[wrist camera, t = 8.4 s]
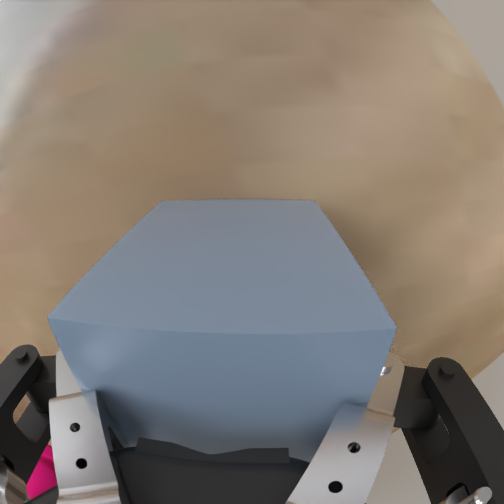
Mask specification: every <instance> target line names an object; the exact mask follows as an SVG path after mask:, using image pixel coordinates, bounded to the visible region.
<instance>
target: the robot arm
mask: <svg viewBox="0 0 504 504" xmlns="http://www.w3.org/2000/svg"><path fill="white" fill-rule="evenodd" d="M25 394H26V395H27V397H28V398H29V400H30V401H31V402H30V404H29V405H28V407H27V408H26V410H25V411H24V413H23V414H22V416H21V417H20V419H19V420H18V422H17V424H15V423H14V421H13V412H14V410H15V408H16V407H17V405H18V404H19V402H20V401H21V399H22V398H23V396H24V395H25ZM441 419H442V420H441ZM445 426H446V427H445ZM393 427H399V428H401V429H402V431H403V433H404V436H405V438H406V441H407V443H408V445H409V448H410V450H411V453H412V455H413V458H414V460H415V463H416V465H417V468H418V470H419V473H420V475H421V478H422V480H423V483H424V485H425V488H426V491H427V493H428V496H429V499H430V502H431V504H504V430H503V428H502V427H501V425H500V424H499V422H498V420H497V419H496V417H495V415H494V414H493V412H492V411H491V409H490V407H489V406H488V404H487V403H486V401H485V400H484V398H483V397H482V395H481V394H480V392H479V391H478V389H477V388H476V386H475V385H474V384H473V382H472V380H471V379H470V378H469V376H468V375H467V373H466V372H465V370H464V369H463V368H462V366H461V365H460V364H459V363H457V362H456V361H454V360H452V359H450V358H445V357H440V358H436V359H434V360H432V361H431V362H430V363H429V365H428V368H427V369H424V368H415V367H408V366H404V363H403V361H402V360H401V358H400V357H399V356H397V355H396V354H394V353H392V352H390V351H389V353H388V356H387V359H386V361H385V364H384V367H383V369H382V372H381V374H380V377H379V379H378V382H377V384H376V387H375V389H374V391H373V394H372V396H371V398H370V401H369V402H364V403H354V404H350V403H347V402H342V404H341V405H340V407H339V409H338V412H337V414H336V416H335V418H334V420H333V422H332V424H331V426H330V428H329V430H328V431H327V433H326V435H325V437H324V439H323V441H322V443H321V445H320V447H319V448H318V450H317V452H316V454H315V456H314V457H313V459H312V461H311V463H310V462H307V461H304V460H301V459H297V458H292V457H289V448H248V449H243V450H237V451H231V452H225V453H219V454H206V453H203V452H199V451H196V450H193V449H190V448H187V447H184V446H181V445H179V444H176V443H173V442H166V441H159V440H153V439H147V438H141V437H139V438H138V442H137V445H136V446H134V447H130V445H129V443H128V442H127V440H126V438H125V437H124V435H123V433H121V432H120V430H119V428H118V427H117V425H116V423H115V422H114V420H113V418H112V416H111V415H110V413H109V410H108V408H107V406H106V404H105V402H104V400H103V398H102V396H101V394H100V392H99V390H97V389H92V390H85V389H81V388H80V387H79V385H78V383H77V382H76V380H75V378H74V376H73V374H72V372H71V370H70V368H69V366H68V364H67V362H66V360H65V358H64V356H63V354H62V351H61V349H60V350H59V351H58V353H57V355H55V356H41V357H40V355H39V353H38V351H37V349H36V347H34V346H32V345H22V346H19V347H17V348H15V349H14V350H13V351H12V352H11V353H10V354H9V355H8V356H7V357H6V359H5V360H4V361H3V362H2V363H1V364H0V504H366V500H367V498H368V496H369V493H370V491H371V489H372V486H373V484H374V481H375V478H376V476H377V473H378V471H379V468H380V465H381V463H382V460H383V457H384V454H385V451H386V448H387V445H388V442H389V438H390V436H391V433H392V429H393ZM446 428H447V429H446ZM447 430H448V431H447ZM448 432H449V433H448ZM50 439H51V442H52V451H53V459H54V466H55V472H56V478H57V485H55V486H54V487H52V488H50V489H49V490H47V491H45V492H43V493H42V494H40V495H38V496H36V497H34V498H33V499H30V497H29V495H28V494H27V488H26V485H27V483H28V481H29V479H30V477H31V475H32V473H33V471H34V469H35V467H36V465H37V463H38V461H39V459H40V457H41V455H42V454H43V452H44V450H45V448H46V446H47V444H48V442H49V441H50Z"/></svg>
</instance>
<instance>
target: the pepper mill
mask: <svg viewBox="0 0 504 504" xmlns="http://www.w3.org/2000/svg"><path fill="white" fill-rule="evenodd" d="M55 485H57V478H56V472H55V466H54V459H53V451H52V447H51V446H49V445H47V446H46V448H45V450H44V452H43V454H42V455H41V457H40V459H39V461H38V463H37V465H36V467H35V469H34V471H33V473H32V475H31V477H30V479H29V481H28V483H27V485H26V488H27V494H28V495H29V497H30V499H33V498H34V497H36V496H38V495H40V494H42V493H43V492H45V491H47V490H49V489H50V488H52V487H54V486H55Z"/></svg>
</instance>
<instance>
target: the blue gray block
mask: <svg viewBox="0 0 504 504" xmlns="http://www.w3.org/2000/svg"><path fill="white" fill-rule="evenodd" d="M47 319H48V321H49V324H50V326H51V329H52V331H53V334H54V336H55V338H56V340H57V343H58V345H59V347H60V349H61V351H62V354H63V356H64V358H65V360H66V362H67V364H68V366H69V368H70V370H71V372H72V374H73V376H74V378H75V380H76V382H77V383H78V385H79V387H80V388H81V389H85V390H92V389H97V390H99V392H100V394H101V396H102V398H103V400H104V402H105V404H106V406H107V408H108V410H109V413H110V415H111V416H112V418H113V420H114V422H115V423H116V425H117V427H118V428H119V430H120V432H121V433H123V435H124V437H125V438H126V440H127V442H128V443H129V445H130V447H134V446H136V445H137V442H138V438H139V437H141V438H147V439H153V440H159V441H166V442H173V443H176V444H179V445H181V446H184V447H187V448H190V449H193V450H196V451H199V452H203V453H206V454H219V453H225V452H231V451H237V450H243V449H248V448H289V457H292V458H297V459H301V460H304V461H307V462H310V463H311V461H312V459H313V457H314V456H315V454H316V452H317V450H318V448H319V447H320V445H321V443H322V441H323V439H324V437H325V435H326V433H327V431H328V430H329V428H330V426H331V424H332V422H333V420H334V418H335V416H336V414H337V412H338V409H339V407H340V405H341V404H342V402H347V403H350V404H354V403H364V402H369V401H370V398H371V396H372V394H373V391H374V389H375V387H376V384H377V382H378V379H379V377H380V374H381V372H382V369H383V367H384V364H385V361H386V359H387V356H388V353H389V350H390V348H391V345H392V342H393V339H394V336H395V333H396V330H397V327H396V325H395V324H394V322H393V320H392V318H391V317H390V315H389V313H388V311H387V310H386V308H385V306H384V305H383V303H382V301H381V300H380V298H379V296H378V295H377V293H376V291H375V290H374V288H373V287H372V285H371V283H370V282H369V280H368V279H367V277H366V275H365V274H364V272H363V271H362V269H361V267H360V266H359V264H358V263H357V261H356V260H355V258H354V257H353V255H352V254H351V252H350V250H349V249H348V247H347V246H346V244H345V243H344V241H343V240H342V238H341V237H340V235H339V234H338V233H337V231H336V230H335V228H334V227H333V225H332V224H331V222H330V221H329V219H328V218H327V217H326V215H325V214H324V212H323V211H322V209H321V208H320V207H319V205H318V204H317V202H316V201H315V200H275V199H212V200H169V201H161V202H160V203H158V204H157V205H156V206H155V207H154V208H153V209H152V210H151V211H150V212H149V213H147V214H146V215H145V216H144V217H143V218H142V219H141V220H140V221H139V222H138V223H137V224H136V225H134V226H133V227H132V228H131V229H130V230H129V231H128V232H127V233H126V234H125V235H124V236H123V237H122V238H121V239H120V240H119V241H118V242H117V243H116V244H115V245H114V246H113V247H112V248H111V249H110V250H109V251H108V252H107V253H106V254H105V255H104V256H103V257H102V258H101V259H100V260H99V261H98V262H97V263H96V264H95V265H94V266H93V267H92V268H91V269H90V270H89V271H88V272H87V273H86V274H85V275H84V276H83V277H82V279H81V280H80V281H79V282H78V283H77V284H76V285H75V286H74V287H73V288H72V289H71V290H70V292H69V293H68V294H67V295H66V296H65V297H64V298H63V299H62V300H61V302H60V303H59V304H58V305H57V306H56V307H55V308H54V310H53V311H52V312H51V313H50V314H49V315H48V317H47Z"/></svg>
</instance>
